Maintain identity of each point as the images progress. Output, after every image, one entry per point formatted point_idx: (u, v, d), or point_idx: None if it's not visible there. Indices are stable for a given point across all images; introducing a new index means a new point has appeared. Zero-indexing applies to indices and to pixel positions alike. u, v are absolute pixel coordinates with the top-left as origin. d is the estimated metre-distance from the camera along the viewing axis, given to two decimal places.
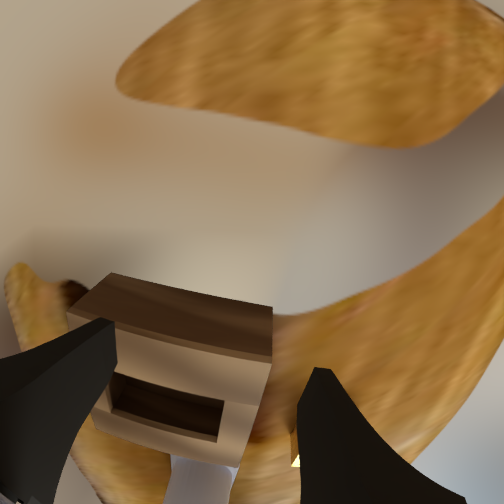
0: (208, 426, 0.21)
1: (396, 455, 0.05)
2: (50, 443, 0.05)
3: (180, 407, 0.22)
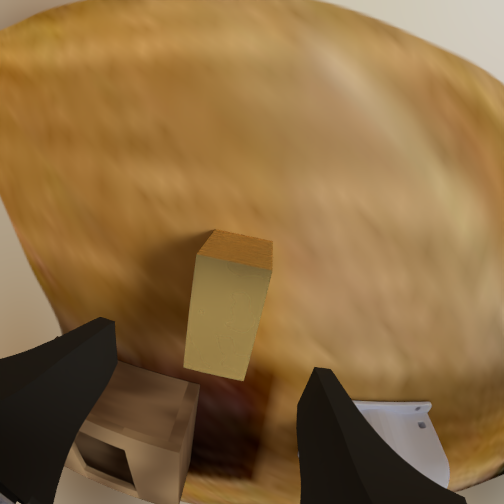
0: None
1: (396, 455, 0.05)
2: (50, 443, 0.05)
3: None
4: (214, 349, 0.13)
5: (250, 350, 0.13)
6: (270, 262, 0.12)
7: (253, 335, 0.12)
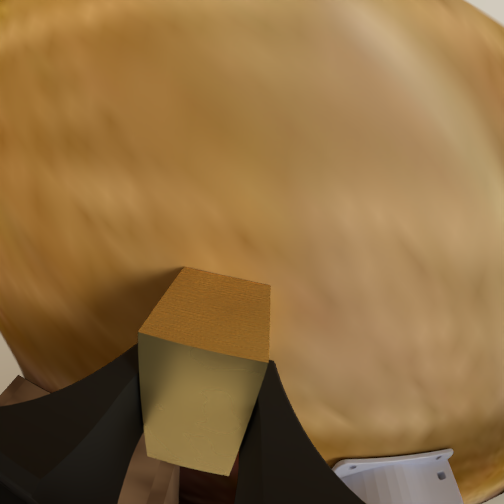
0: None
1: (317, 457, 0.05)
2: (113, 473, 0.05)
3: None
4: (184, 446, 0.08)
5: (236, 451, 0.07)
6: (265, 340, 0.07)
7: (239, 437, 0.07)
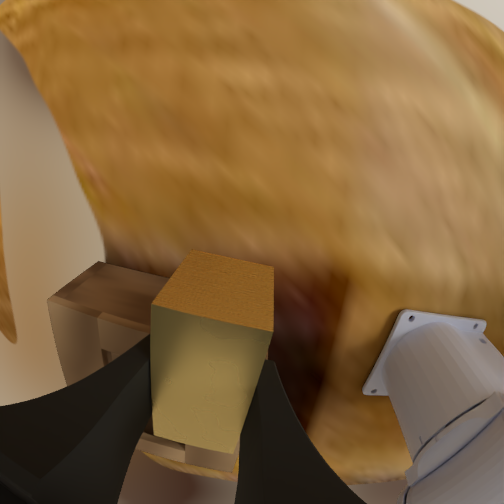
0: None
1: (318, 457, 0.05)
2: (112, 473, 0.05)
3: None
4: (190, 422, 0.08)
5: (240, 426, 0.08)
6: (270, 313, 0.08)
7: (244, 411, 0.08)
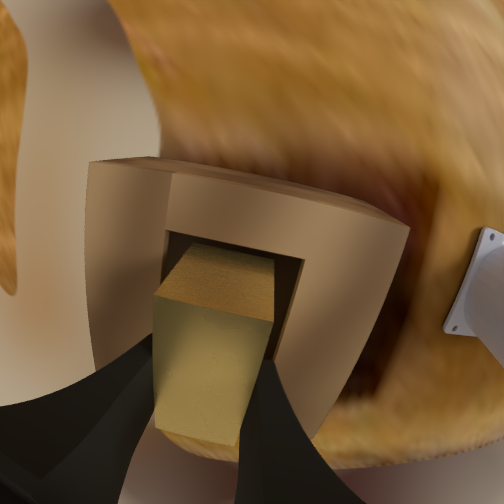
0: None
1: (318, 457, 0.05)
2: (113, 473, 0.05)
3: None
4: (191, 413, 0.08)
5: (242, 417, 0.08)
6: (270, 304, 0.08)
7: (245, 402, 0.08)
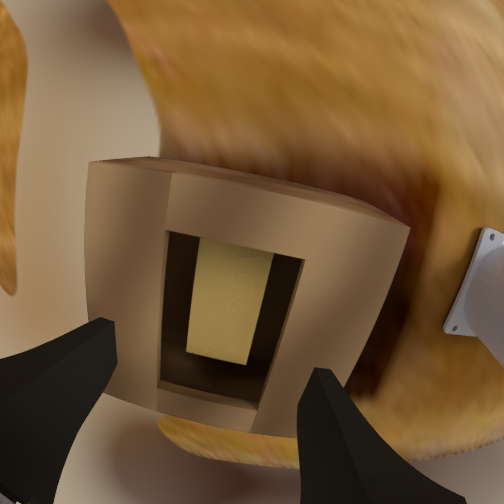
0: None
1: (396, 455, 0.05)
2: (50, 443, 0.05)
3: None
4: (216, 332, 0.13)
5: (252, 333, 0.13)
6: None
7: (255, 317, 0.13)
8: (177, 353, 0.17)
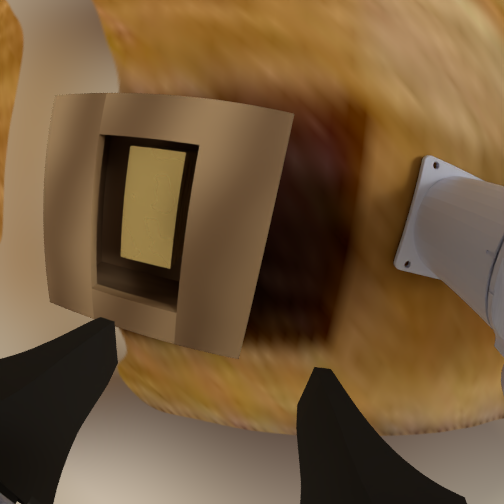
0: None
1: (396, 455, 0.05)
2: (50, 443, 0.05)
3: None
4: (143, 233, 0.14)
5: (173, 232, 0.14)
6: (189, 152, 0.14)
7: (174, 216, 0.14)
8: (124, 276, 0.18)
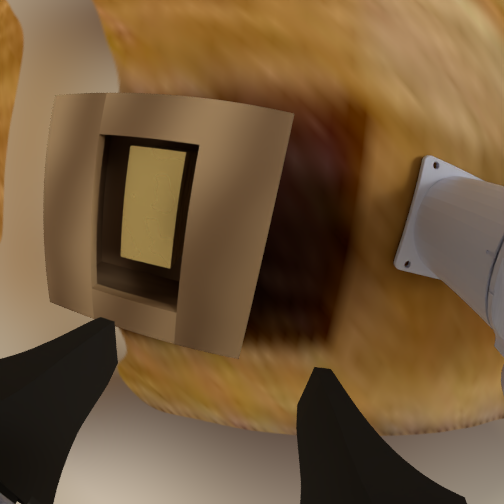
0: None
1: (396, 455, 0.05)
2: (50, 443, 0.05)
3: None
4: (143, 233, 0.14)
5: (173, 232, 0.14)
6: (189, 152, 0.14)
7: (174, 215, 0.14)
8: (124, 276, 0.18)
